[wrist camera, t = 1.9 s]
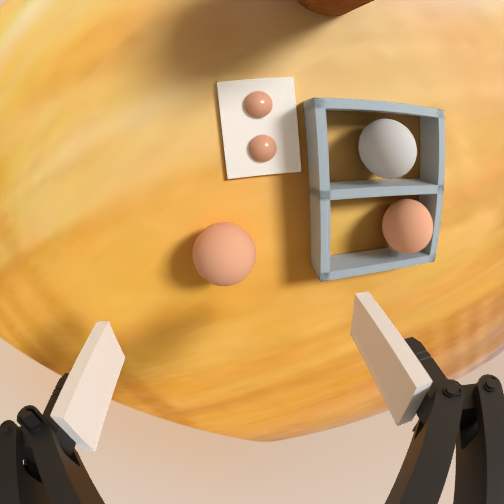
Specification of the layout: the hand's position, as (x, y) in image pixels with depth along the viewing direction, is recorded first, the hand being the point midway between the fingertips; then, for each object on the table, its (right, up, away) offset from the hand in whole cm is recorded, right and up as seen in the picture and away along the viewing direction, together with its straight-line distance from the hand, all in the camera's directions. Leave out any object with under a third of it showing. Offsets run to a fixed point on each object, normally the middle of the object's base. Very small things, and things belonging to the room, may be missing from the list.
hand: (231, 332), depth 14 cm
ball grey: (+12, +13, +8) cm, 20 cm away
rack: (+12, +10, +10) cm, 19 cm away
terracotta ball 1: (-1, +5, +11) cm, 12 cm away
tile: (+2, +14, +7) cm, 16 cm away
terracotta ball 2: (+15, +7, +11) cm, 20 cm away
